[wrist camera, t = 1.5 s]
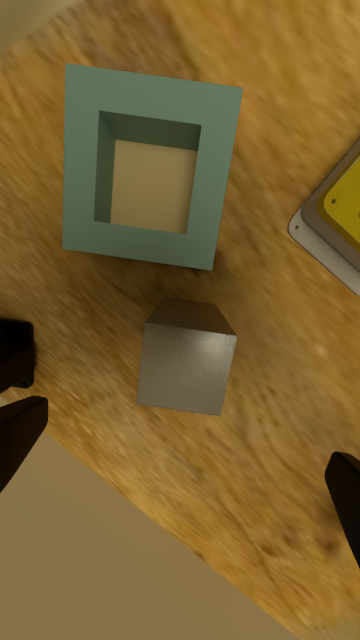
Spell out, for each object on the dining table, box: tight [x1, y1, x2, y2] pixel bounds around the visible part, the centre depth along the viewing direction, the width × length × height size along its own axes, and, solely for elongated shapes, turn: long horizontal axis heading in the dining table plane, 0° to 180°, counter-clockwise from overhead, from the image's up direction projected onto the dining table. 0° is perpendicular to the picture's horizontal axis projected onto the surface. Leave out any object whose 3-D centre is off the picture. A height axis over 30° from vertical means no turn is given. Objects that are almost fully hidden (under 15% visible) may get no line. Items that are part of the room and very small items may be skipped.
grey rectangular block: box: [136, 298, 237, 416], centre depth 15 cm, size 4×4×9 cm
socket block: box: [62, 63, 243, 271], centre depth 16 cm, size 10×10×4 cm
